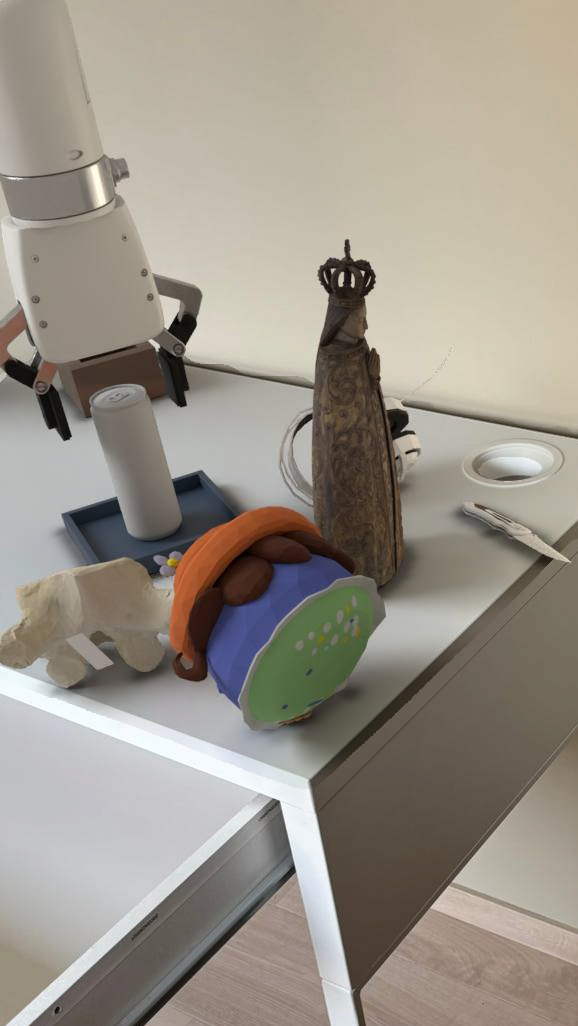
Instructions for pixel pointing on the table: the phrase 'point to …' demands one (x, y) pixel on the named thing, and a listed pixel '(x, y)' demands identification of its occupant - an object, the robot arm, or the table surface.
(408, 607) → the table surface
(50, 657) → the decorative object
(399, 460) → the headphones
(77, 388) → the can holder
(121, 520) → the tray
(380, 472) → the statue
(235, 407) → the table surface
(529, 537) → the pocket knife
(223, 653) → the toy
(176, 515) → the beverage can
